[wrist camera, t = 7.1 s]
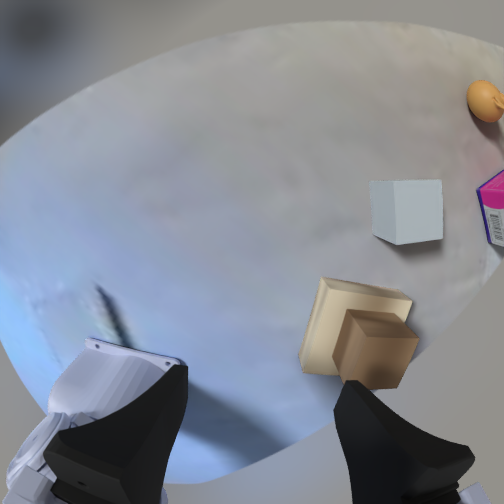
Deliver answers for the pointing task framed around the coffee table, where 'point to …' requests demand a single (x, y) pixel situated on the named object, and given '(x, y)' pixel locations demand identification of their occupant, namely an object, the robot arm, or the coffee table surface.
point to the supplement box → (493, 208)
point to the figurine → (485, 101)
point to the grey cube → (407, 210)
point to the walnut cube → (373, 348)
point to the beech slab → (342, 318)
